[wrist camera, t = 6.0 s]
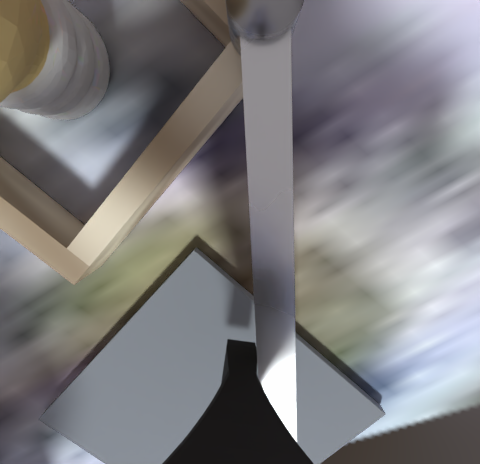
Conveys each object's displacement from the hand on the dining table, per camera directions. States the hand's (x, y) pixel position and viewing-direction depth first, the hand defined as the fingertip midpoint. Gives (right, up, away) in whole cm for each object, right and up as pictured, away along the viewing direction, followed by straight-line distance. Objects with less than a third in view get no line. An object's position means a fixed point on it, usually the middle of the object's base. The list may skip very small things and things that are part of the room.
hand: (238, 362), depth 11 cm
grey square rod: (+1, +4, -1) cm, 5 cm away
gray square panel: (-2, -4, +3) cm, 5 cm away
